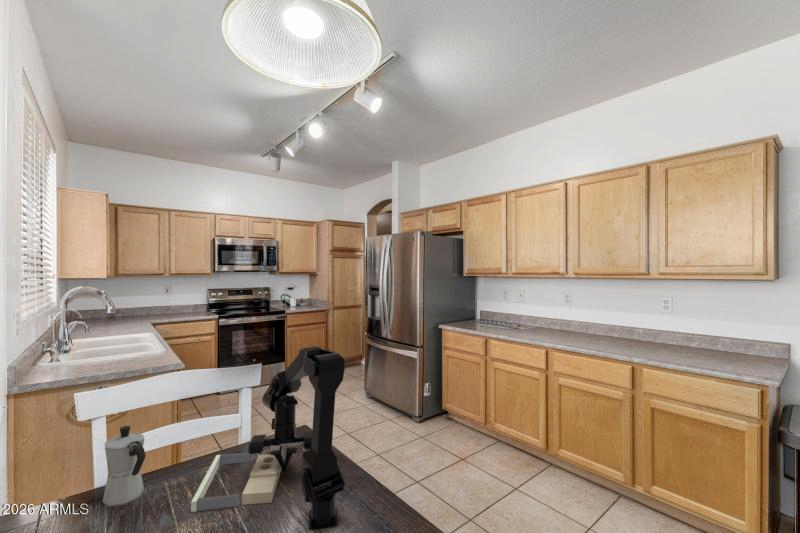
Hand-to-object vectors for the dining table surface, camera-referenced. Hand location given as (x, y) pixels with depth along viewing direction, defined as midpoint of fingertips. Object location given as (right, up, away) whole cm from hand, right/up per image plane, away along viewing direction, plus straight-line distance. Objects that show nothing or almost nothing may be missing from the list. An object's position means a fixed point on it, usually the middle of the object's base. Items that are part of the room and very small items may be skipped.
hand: (284, 471), depth 106 cm
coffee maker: (-38, -1, -10) cm, 39 cm away
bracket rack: (-15, -1, -3) cm, 15 cm away
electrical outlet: (-5, -2, -3) cm, 6 cm away
